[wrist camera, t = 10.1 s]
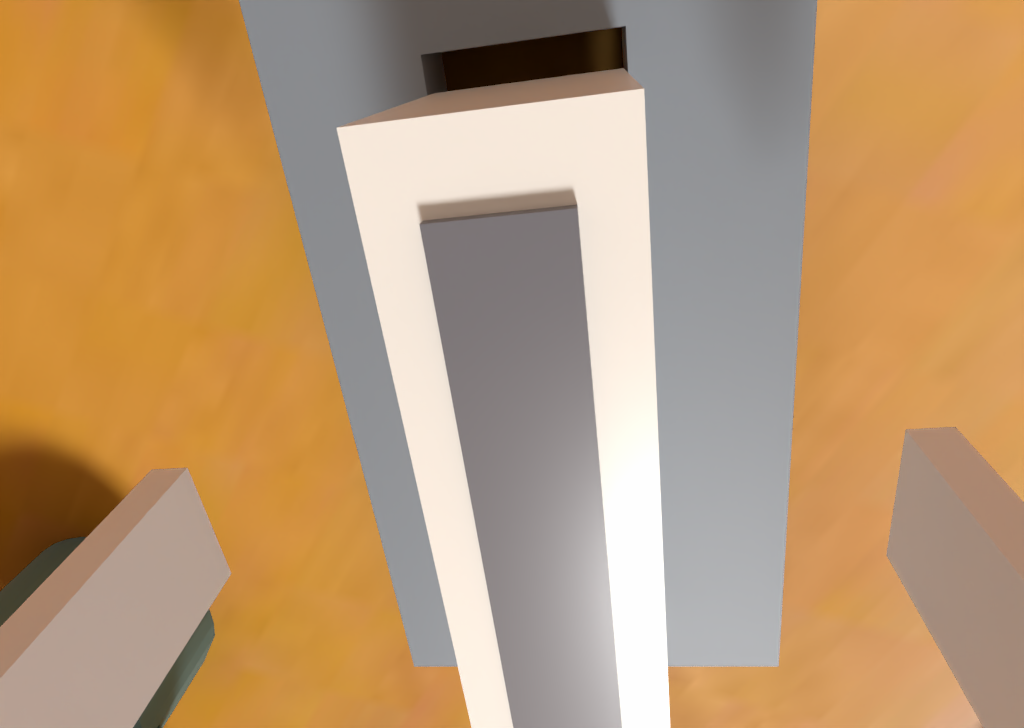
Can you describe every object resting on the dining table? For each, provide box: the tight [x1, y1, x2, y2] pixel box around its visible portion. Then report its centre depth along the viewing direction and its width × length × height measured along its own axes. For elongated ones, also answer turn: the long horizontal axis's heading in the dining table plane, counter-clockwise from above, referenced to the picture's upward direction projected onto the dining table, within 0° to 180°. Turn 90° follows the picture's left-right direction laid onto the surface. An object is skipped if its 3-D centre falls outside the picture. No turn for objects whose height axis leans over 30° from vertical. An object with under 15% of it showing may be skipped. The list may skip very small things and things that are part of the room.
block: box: [337, 68, 670, 728], centre depth 17 cm, size 16×4×9 cm, turn 7°
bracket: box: [0, 537, 215, 728], centre depth 26 cm, size 9×9×9 cm
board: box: [239, 0, 817, 666], centre depth 20 cm, size 24×13×2 cm, turn 7°
